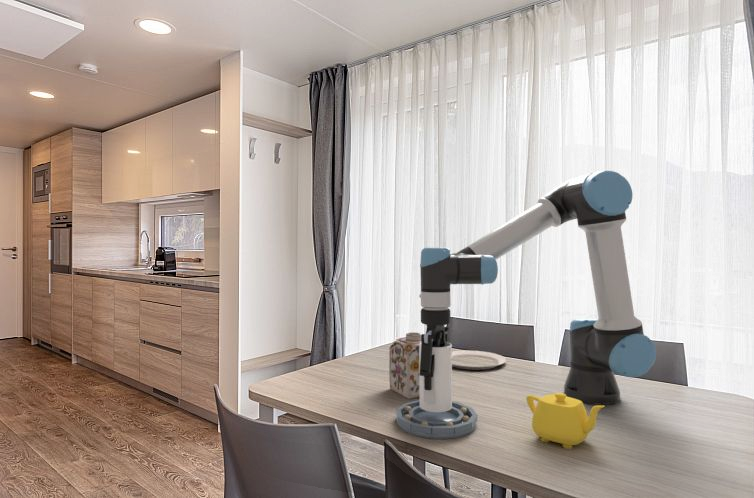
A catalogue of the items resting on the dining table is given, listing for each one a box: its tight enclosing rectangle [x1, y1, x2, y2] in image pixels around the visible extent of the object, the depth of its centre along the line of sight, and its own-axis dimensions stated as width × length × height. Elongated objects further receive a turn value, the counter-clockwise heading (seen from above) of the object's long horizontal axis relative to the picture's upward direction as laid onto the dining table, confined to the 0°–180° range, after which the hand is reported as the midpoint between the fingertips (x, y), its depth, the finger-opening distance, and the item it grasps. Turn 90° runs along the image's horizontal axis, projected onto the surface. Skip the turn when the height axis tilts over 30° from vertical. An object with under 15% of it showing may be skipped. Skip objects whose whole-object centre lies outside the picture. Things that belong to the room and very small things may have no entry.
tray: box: [395, 399, 478, 440], centre depth 118 cm, size 20×20×3 cm
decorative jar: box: [388, 332, 422, 400], centre depth 143 cm, size 12×12×18 cm
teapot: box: [526, 392, 606, 450], centre depth 107 cm, size 18×11×11 cm, turn 46°
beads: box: [404, 406, 469, 426], centre depth 118 cm, size 17×17×2 cm
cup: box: [418, 341, 453, 412], centre depth 118 cm, size 8×8×16 cm
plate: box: [452, 349, 507, 371], centre depth 178 cm, size 26×26×2 cm
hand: (435, 396), depth 118 cm, fingers closed on cup, 8 cm apart
